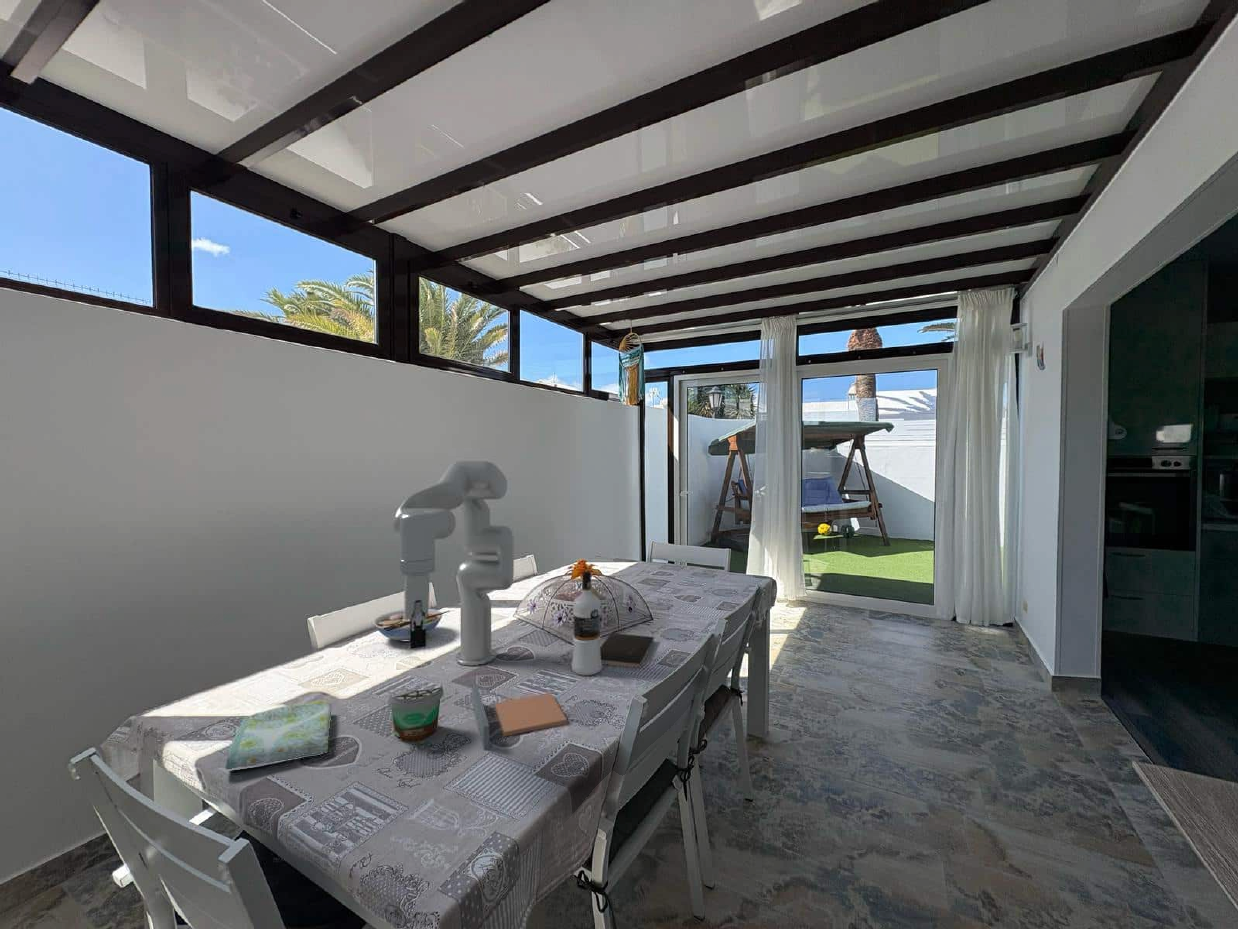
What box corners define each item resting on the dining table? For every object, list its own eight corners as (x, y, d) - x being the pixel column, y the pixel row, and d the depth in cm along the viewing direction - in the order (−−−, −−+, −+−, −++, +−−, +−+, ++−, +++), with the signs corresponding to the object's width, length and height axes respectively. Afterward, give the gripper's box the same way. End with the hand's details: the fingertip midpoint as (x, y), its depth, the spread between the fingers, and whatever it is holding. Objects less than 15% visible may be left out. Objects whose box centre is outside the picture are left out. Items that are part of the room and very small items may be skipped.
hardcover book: (654, 643, 178) (654, 637, 178) (640, 670, 155) (640, 662, 155) (610, 639, 182) (610, 633, 182) (590, 664, 159) (590, 657, 159)
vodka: (592, 661, 161) (592, 566, 160) (607, 671, 153) (607, 572, 152) (566, 668, 155) (566, 570, 155) (580, 679, 148) (580, 576, 147)
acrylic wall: (472, 704, 133) (472, 685, 133) (477, 703, 133) (477, 684, 133) (483, 749, 112) (483, 726, 112) (489, 748, 113) (489, 725, 113)
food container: (389, 750, 112) (389, 705, 112) (387, 737, 117) (387, 694, 117) (447, 736, 117) (447, 693, 117) (443, 724, 123) (443, 683, 123)
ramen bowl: (421, 622, 198) (421, 601, 198) (458, 634, 185) (458, 612, 185) (357, 641, 178) (357, 618, 178) (393, 656, 164) (393, 631, 164)
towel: (333, 713, 129) (333, 693, 129) (328, 758, 110) (327, 734, 110) (245, 731, 120) (245, 709, 120) (223, 782, 101) (223, 757, 101)
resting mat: (494, 706, 131) (494, 703, 131) (550, 696, 137) (550, 692, 137) (504, 736, 117) (504, 732, 117) (566, 723, 123) (566, 719, 123)
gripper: (400, 560, 123) (400, 630, 124) (399, 575, 107) (399, 656, 108) (433, 558, 126) (433, 626, 126) (436, 572, 110) (437, 651, 110)
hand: (417, 640), depth 117 cm, fingers open, 9 cm apart
